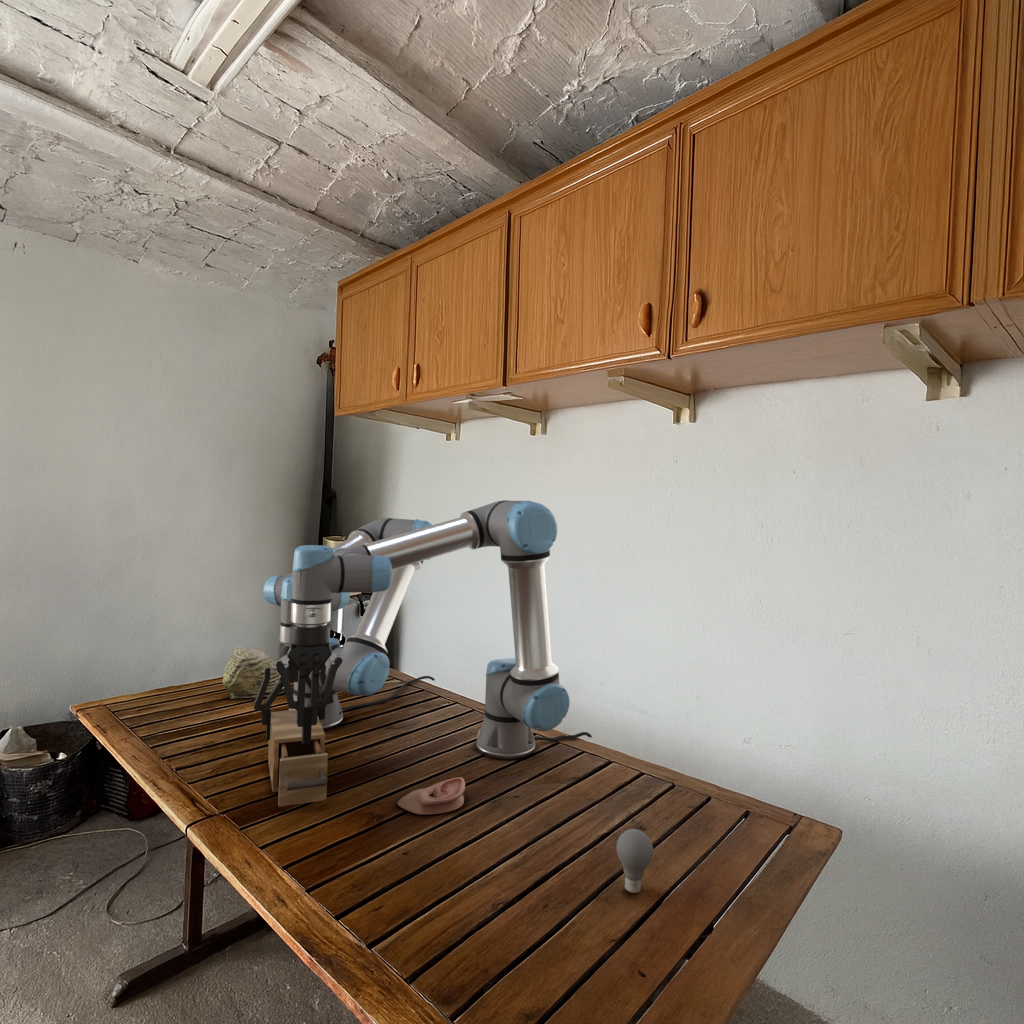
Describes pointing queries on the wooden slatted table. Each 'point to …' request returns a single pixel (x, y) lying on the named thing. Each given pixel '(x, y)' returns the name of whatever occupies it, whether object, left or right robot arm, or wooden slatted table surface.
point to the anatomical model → (435, 798)
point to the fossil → (248, 673)
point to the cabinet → (287, 739)
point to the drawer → (301, 773)
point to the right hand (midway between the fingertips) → (306, 741)
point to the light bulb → (634, 857)
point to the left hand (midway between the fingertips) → (293, 735)
